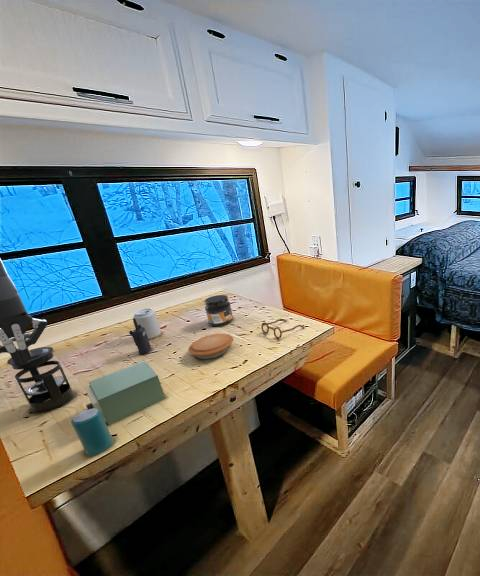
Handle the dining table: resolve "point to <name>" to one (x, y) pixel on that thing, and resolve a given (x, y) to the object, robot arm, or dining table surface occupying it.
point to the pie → (211, 346)
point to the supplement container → (218, 310)
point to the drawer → (93, 401)
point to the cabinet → (127, 391)
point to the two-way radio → (140, 338)
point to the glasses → (277, 328)
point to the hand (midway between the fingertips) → (24, 362)
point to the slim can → (92, 431)
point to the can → (148, 322)
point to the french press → (43, 381)
